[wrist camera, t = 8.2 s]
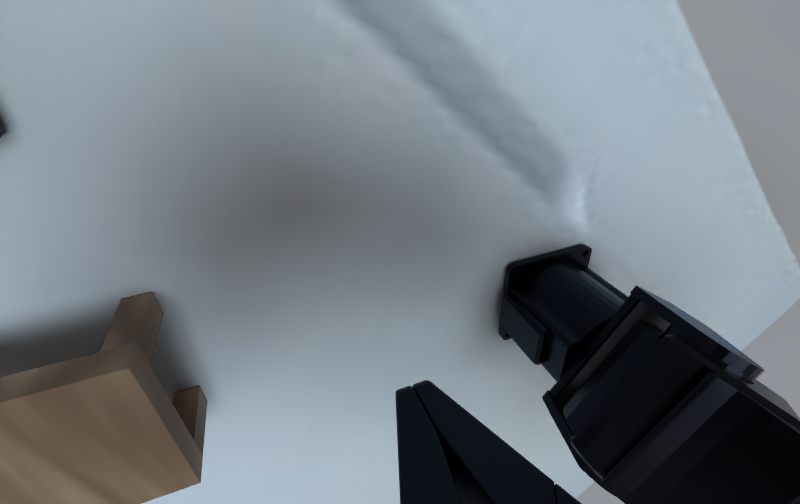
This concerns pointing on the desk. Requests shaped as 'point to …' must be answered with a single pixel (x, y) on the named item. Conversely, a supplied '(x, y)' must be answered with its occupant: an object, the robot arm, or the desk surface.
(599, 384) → the robot arm
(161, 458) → the footstool
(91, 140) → the desk surface
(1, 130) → the electronic device
